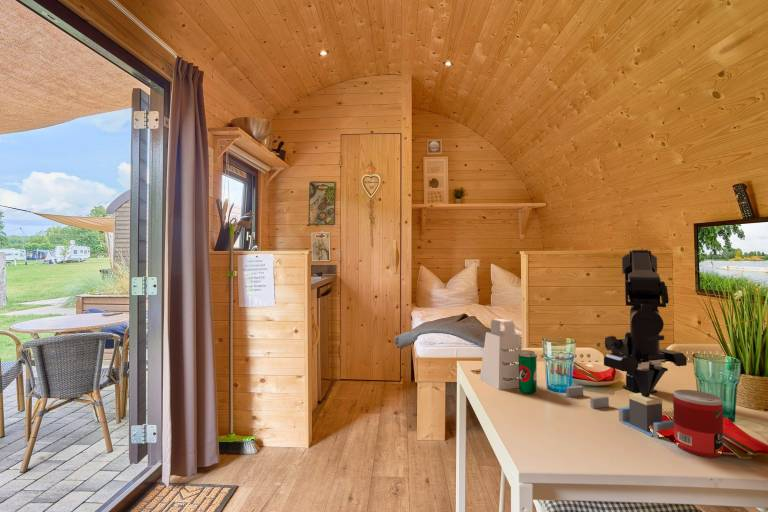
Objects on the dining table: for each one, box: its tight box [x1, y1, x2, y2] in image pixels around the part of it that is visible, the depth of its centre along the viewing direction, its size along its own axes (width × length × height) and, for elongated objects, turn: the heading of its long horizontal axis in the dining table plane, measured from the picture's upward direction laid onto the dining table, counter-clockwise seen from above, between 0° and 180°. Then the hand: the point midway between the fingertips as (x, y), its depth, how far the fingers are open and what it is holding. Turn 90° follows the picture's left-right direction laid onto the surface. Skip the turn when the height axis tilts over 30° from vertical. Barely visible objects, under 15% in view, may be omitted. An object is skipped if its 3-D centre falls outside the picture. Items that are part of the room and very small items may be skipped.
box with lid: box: [628, 392, 663, 432], centre depth 92 cm, size 5×5×7 cm
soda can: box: [518, 349, 538, 395], centre depth 117 cm, size 5×5×12 cm
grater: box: [479, 318, 523, 391], centre depth 126 cm, size 10×10×20 cm
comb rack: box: [565, 385, 674, 439], centre depth 100 cm, size 6×28×3 cm, turn 16°
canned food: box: [672, 389, 724, 458], centre depth 82 cm, size 8×8×11 cm
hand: (645, 396), depth 92 cm, fingers closed, pressing on box with lid
